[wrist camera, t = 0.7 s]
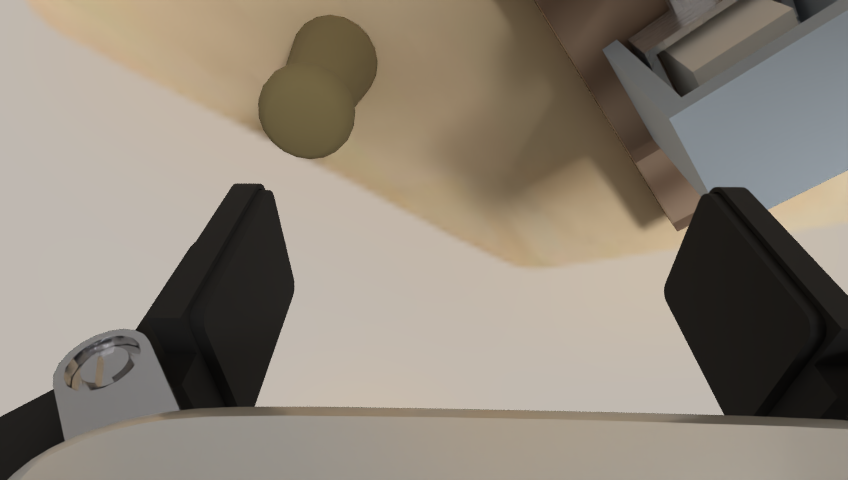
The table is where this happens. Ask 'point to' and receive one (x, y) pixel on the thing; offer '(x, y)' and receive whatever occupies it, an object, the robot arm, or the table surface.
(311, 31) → the cork
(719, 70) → the cream block
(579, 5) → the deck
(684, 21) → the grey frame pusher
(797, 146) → the tunnel
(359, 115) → the table surface
